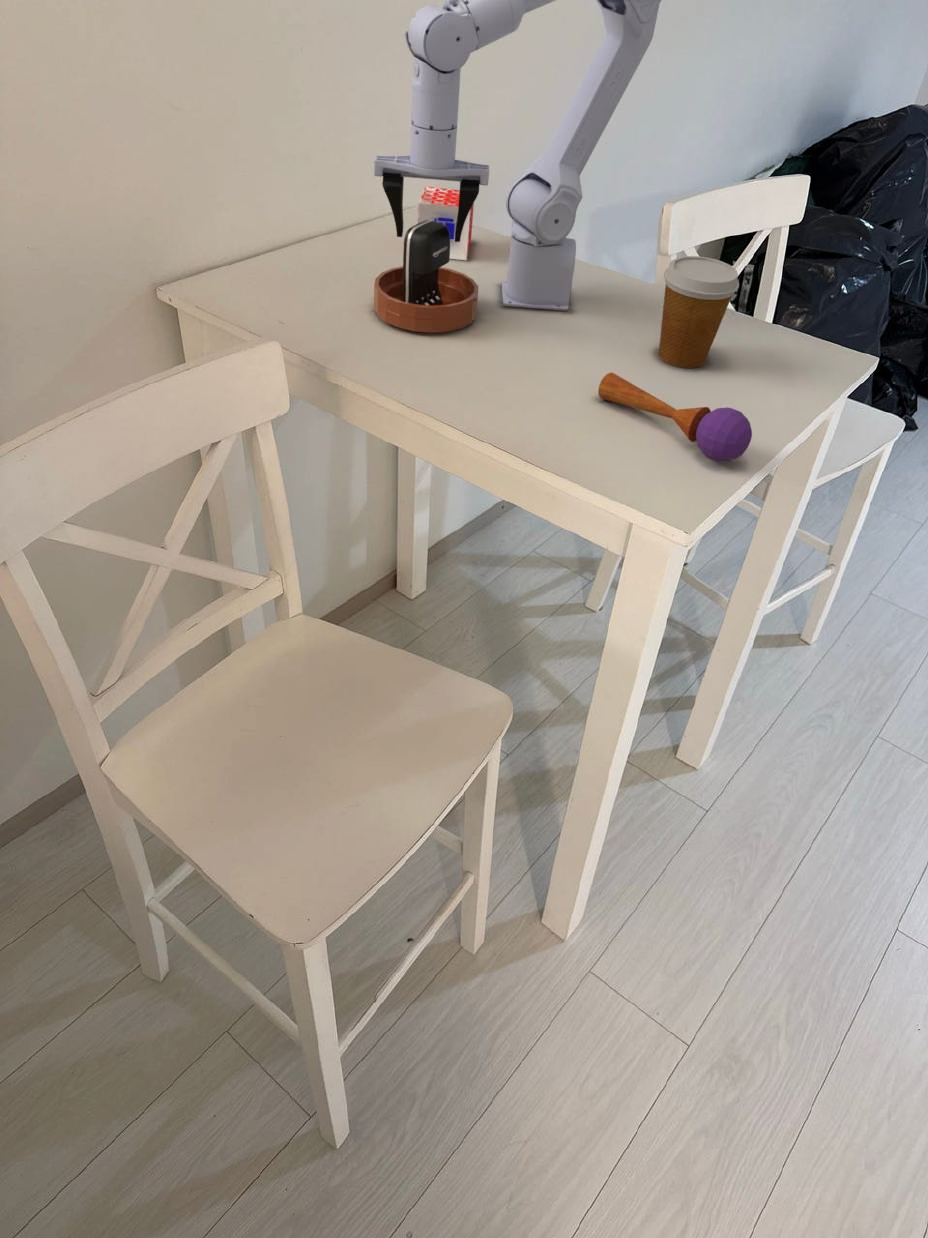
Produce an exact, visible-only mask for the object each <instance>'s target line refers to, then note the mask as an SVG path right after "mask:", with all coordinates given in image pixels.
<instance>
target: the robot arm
mask: <svg viewBox="0 0 928 1238" xmlns="http://www.w3.org/2000/svg"><path fill="white" fill-rule="evenodd" d="M555 1H557V0H444V2H445V3H444V4H443V6H442V7H440V6H438V5H433V4H431V5H425V6H423V7H421V8H420V9H419V10H417V11H416V12H415V13H414V17H412V18H411V19H410V23H409V26H408V30H406V31H405V32H404V37H405V43H406V47H407V49H408V51H409V52H410V54H411V55H412V59H413V60H412V81H411V107H410V108H411V110H410V111H411V112H410V143H409V144H410V145H409V155H375V157H374V161H373V163H374V165H373V167H374V168H373V169H374V170H373V172H374V174H373V177H379V178H380V177H381V178H382V182H381V184H382V188H383V192H384V193H385V196H386V198H387V200H388V203H389V206H390V209H391V212H392V215H393V219H394V223H395V230H396V237H398V238H403V235H404V206H403V204H404V203H403V202H404V183H405V182H404V179H405V178H411V179H425V180H434V181H435V180H436V181H446V182H447V181H448V182H458V183H459V190H460V193H459V208H458V215H457V222H456V230H455V242H460V238H461V233H462V229H463V226H464V223H465V220H466V218H467V215H468V213H469V211H470V209H471V207H472V205H473V203H474V204H475V201H476V200H477V198H478V195H479V194H480V186H488V185H489V179H490V165H489V164H480V163H475V162H470V161H466V160H465V161H464V160H459V159H456V152H457V151H456V149H457V136H458V120H459V104H460V103H459V101H460V89H461V87H460V86H461V68H463V67H464V66H465V64H466V63H467V61H468V60H469V58H470V55H471V54H472V53H474V52H477V51H478V50H480V49H482V48H484V47H486V46H489V45H490V44H493V43H494V42H497V41H498V40H500V39H502V38H504V37H506V36H508V35H510V34H513V33H515V32H516V31H518V29H519V28H520V26H521V22H522V19H523V17H524V15H525V14H527V13H529V12H532V11H535V10H536V9H539V8H542V7H544V6H546V5H548V4H551V3H553V2H555ZM595 1H596V3H597V4H598V7H599V8H600V10H601V13H602V14H601V15H602V19H603V23H604V28H605V36H604V38H603V39H602V42H601V43H600V45H599V47H598V49H597V52H596V54H595V55H594V57H593V59H592V61H591V63H590V65H589V67H588V69H587V71H586V73H585V75H584V77H583V79H582V81H581V83H580V85H579V87H578V88H577V91H576V92H575V95H574V96H573V98H572V100H571V103H570V105H568V108H567V110H566V112H565V114H564V116H563V118H562V120H561V122H560V124H559V126H558V128H557V130H556V132H555V133H554V136H553V137H552V140H551V141H550V144H549V145H548V148H547V149H546V151H545V153H544V154H543V155H542V156H540V157H538V158H536V159H534V160H533V161H531V162H530V163H528V165H527V167H526V169H525V171H524V172H523V174H522V175H521V176H520V178H518V179H517V180H515V181H514V183H512V185H511V186H510V188H509V190H508V191H507V195H506V199H505V209H506V212H507V214H508V216H509V217H510V219H512V222H511V236H510V244H509V254H508V265H507V273H506V274H507V275H506V281H502V283H501V294H502V305H503V306H504V307H510V308H511V307H512V308H514V307H515V308H524V309H525V308H527V309H540V310H553V311H568V310H569V308H570V306H569V304H570V297H571V292H572V287H573V278H574V271H575V265H576V256H577V255H576V254H577V241H576V239H575V238H569V237H568V236H569V234H570V233H571V232H572V230H573V228H574V225H575V222H576V215H577V210H578V207H579V205H580V203H581V202H582V199H583V191H582V183H581V174H582V172H583V171H584V168H585V167H586V165H587V163H588V161H589V160H590V158H591V156H592V153H593V152H594V150H595V148H596V146H597V145H598V142H599V141H600V138H601V137H602V135H603V133H604V131H605V129H606V127H607V125H608V124H609V122H610V120H611V118H612V116H613V114H614V113H615V111H616V108H617V107H618V105H619V104H620V101H621V99H622V97H623V96H624V93H625V91H626V90H627V88H628V87H629V84H630V82H631V81H632V79H633V76H634V75H635V73H636V71H637V69H638V67H639V66H640V63H641V62H642V60H643V58H644V56H645V54H646V52H647V51H648V49H649V47H650V46H651V45H650V44H651V43H652V40H653V38H654V33H655V28H656V25H657V20H658V13H659V8H660V4H661V2H662V0H595Z"/></svg>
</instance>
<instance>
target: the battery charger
mask: <svg viewBox="0 0 928 1238" xmlns="http://www.w3.org/2000/svg"><path fill="white" fill-rule="evenodd" d="M402 255H403V257H402V266H403V302H408V303H413V304H418V305H431V306H434V305H441V304H442V298H441V294H440V291H439V287H438V273H439V268H440V267H443V266H445V265H447V264H449V262H450V259H449V258H450V231H449V229H448V227H447V226H445V225H443V224H441V223H437V222H435V221H433V220H425V221H423V222H421V223H418V222H417V223H416V224H415V225H412V226H411V227H409V228H408V229H407V230H406V233H405V235H404V240H403V254H402Z"/></svg>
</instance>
